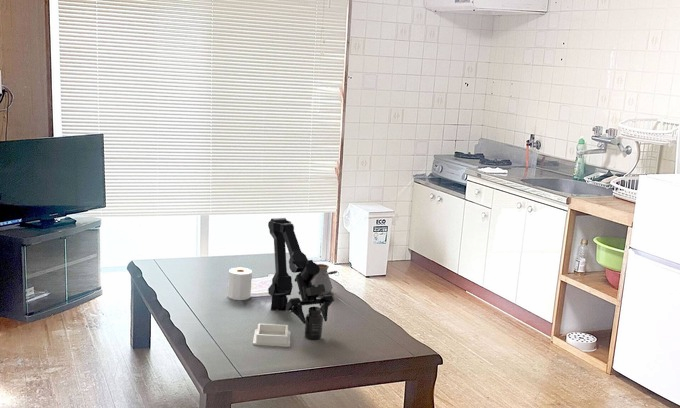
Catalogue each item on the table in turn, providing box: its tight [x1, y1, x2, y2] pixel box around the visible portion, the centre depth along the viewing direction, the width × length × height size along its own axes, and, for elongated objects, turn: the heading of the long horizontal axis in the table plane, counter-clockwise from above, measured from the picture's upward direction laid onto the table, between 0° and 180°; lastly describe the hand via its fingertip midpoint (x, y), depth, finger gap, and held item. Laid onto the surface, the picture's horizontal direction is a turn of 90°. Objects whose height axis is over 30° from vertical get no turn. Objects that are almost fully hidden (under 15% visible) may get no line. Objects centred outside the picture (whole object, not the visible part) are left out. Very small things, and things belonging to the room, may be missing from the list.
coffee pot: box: [312, 263, 340, 296], centre depth 336 cm, size 21×12×15 cm, turn 27°
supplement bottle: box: [304, 306, 324, 341], centre depth 287 cm, size 7×7×12 cm
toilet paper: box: [227, 267, 253, 301], centre depth 326 cm, size 10×10×12 cm
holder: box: [252, 323, 291, 348], centre depth 283 cm, size 14×14×4 cm
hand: (315, 322), depth 285 cm, fingers open, 9 cm apart
